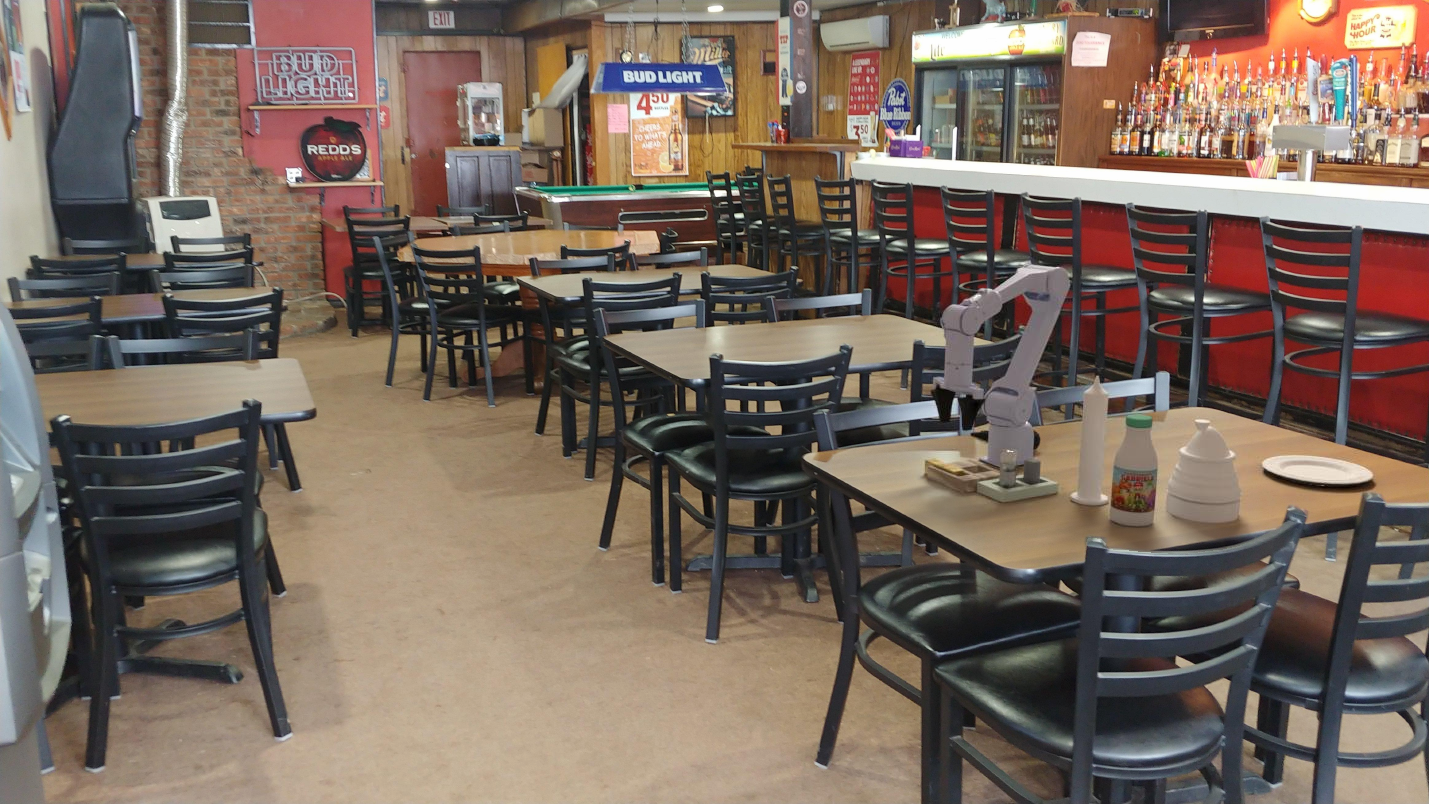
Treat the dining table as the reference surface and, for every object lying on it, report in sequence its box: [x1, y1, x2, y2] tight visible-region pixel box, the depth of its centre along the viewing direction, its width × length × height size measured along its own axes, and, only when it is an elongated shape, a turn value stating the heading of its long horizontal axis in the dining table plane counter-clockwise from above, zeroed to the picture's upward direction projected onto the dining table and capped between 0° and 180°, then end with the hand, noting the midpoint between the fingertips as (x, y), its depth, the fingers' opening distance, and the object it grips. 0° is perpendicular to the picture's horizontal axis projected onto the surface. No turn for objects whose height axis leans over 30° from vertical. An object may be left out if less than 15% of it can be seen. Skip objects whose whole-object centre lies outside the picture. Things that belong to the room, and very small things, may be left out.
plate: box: [1261, 454, 1374, 487], centre depth 240 cm, size 21×21×2 cm
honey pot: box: [1165, 419, 1242, 524], centre depth 216 cm, size 13×13×18 cm
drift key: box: [924, 458, 964, 477], centre depth 239 cm, size 2×10×3 cm, turn 26°
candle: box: [1069, 375, 1110, 506], centre depth 222 cm, size 7×7×25 cm
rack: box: [976, 458, 1060, 503], centre depth 230 cm, size 14×8×6 cm, turn 116°
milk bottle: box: [1109, 413, 1159, 528], centre depth 210 cm, size 8×8×20 cm
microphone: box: [970, 429, 1041, 451], centre depth 266 cm, size 6×6×20 cm
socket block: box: [927, 459, 1000, 494], centre depth 237 cm, size 11×12×2 cm
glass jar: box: [999, 449, 1018, 489], centre depth 228 cm, size 3×3×9 cm
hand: (955, 426), depth 241 cm, fingers open, 7 cm apart
